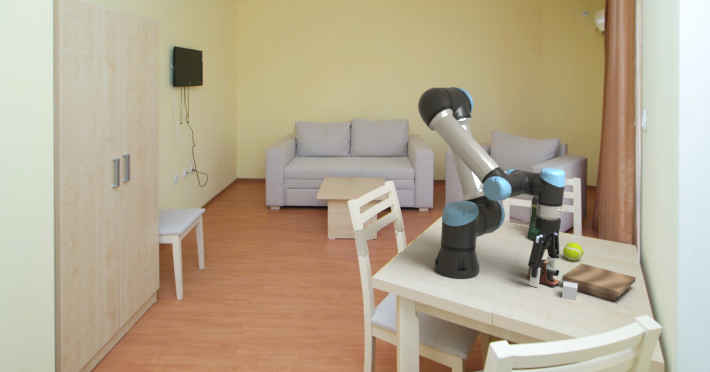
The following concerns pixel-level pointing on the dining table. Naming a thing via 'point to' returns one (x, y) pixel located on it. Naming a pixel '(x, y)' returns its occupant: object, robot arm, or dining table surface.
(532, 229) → the coffee jar
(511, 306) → the dining table surface
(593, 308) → the dining table surface
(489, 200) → the robot arm
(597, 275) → the stand
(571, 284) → the grey block
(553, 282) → the electronic device
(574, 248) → the tennis ball
